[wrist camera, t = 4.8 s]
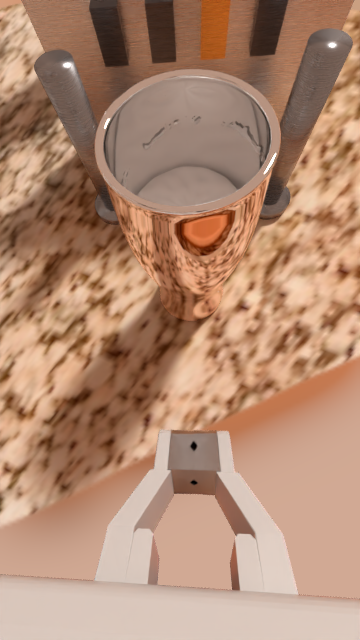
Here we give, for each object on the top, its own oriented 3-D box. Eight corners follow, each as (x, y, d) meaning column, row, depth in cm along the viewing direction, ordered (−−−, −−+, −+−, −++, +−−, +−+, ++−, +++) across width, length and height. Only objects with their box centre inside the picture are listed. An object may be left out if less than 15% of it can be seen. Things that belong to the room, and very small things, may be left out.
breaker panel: (88, 156, 28) (-46, -129, 12) (90, 139, 28) (-35, -152, 13) (296, 146, 26) (444, -192, 11) (293, 128, 27) (430, -214, 11)
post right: (246, 220, 24) (294, 72, 13) (243, 185, 25) (285, 20, 14) (289, 218, 24) (379, 67, 12) (284, 183, 25) (363, 14, 13)
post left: (95, 224, 25) (12, 92, 14) (99, 191, 26) (24, 41, 15) (136, 223, 25) (85, 87, 13) (138, 189, 26) (93, 35, 14)
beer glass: (165, 334, 22) (106, 244, 7) (148, 269, 23) (74, 90, 9) (236, 314, 22) (322, 185, 7) (214, 251, 24) (248, 44, 9)
